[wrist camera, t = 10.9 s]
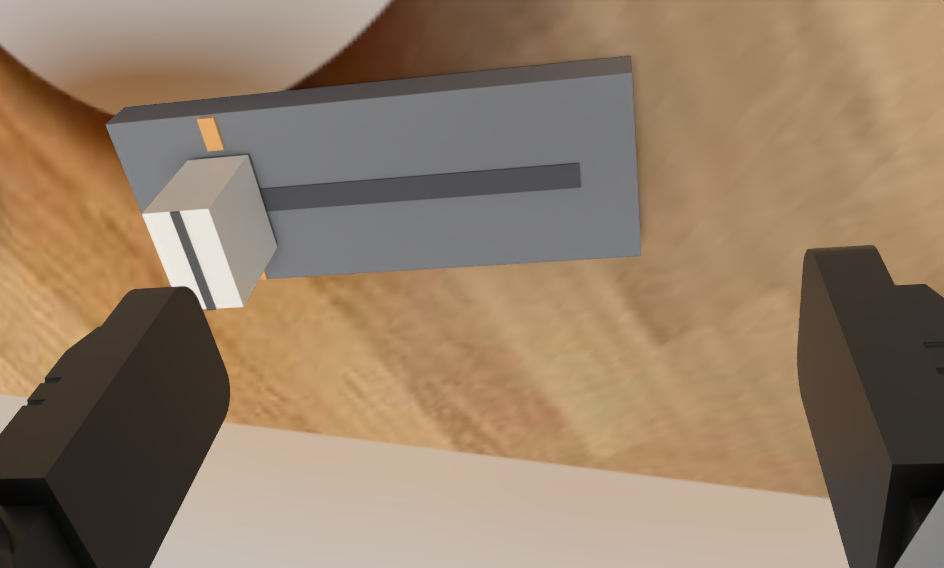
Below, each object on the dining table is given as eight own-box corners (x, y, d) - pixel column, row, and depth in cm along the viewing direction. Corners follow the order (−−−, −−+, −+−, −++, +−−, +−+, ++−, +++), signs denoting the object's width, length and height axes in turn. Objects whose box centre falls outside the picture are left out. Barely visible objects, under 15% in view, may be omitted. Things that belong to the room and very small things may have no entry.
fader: (247, 154, 40) (207, 209, 36) (277, 247, 43) (242, 308, 39) (187, 160, 41) (140, 215, 37) (220, 251, 43) (180, 311, 39)
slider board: (630, 55, 38) (632, 74, 36) (639, 234, 43) (641, 258, 41) (124, 107, 42) (103, 126, 40) (185, 263, 47) (169, 287, 45)
